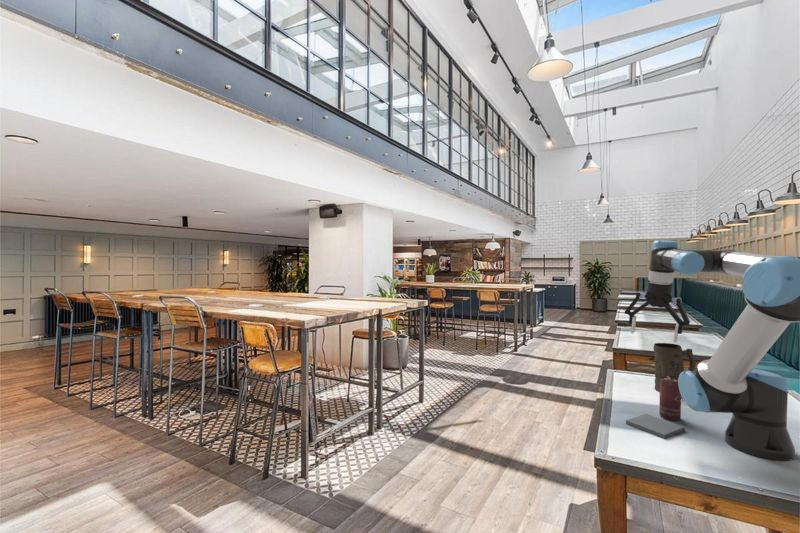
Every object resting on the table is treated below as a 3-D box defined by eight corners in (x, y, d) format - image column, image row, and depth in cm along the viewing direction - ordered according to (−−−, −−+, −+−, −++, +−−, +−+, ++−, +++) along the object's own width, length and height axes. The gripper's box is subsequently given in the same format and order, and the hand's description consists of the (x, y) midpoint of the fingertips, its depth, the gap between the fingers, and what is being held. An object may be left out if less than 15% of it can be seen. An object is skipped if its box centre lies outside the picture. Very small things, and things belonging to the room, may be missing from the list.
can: (673, 414, 135) (673, 375, 135) (684, 421, 129) (685, 381, 129) (655, 413, 136) (655, 375, 136) (666, 420, 130) (666, 380, 130)
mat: (684, 430, 122) (684, 427, 122) (664, 438, 117) (664, 434, 117) (646, 417, 133) (646, 413, 133) (625, 423, 127) (626, 420, 127)
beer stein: (663, 395, 154) (664, 347, 154) (647, 386, 165) (647, 341, 165) (701, 396, 154) (702, 348, 153) (683, 387, 164) (683, 342, 164)
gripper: (704, 285, 131) (696, 342, 135) (624, 275, 148) (619, 326, 152) (702, 289, 126) (693, 348, 130) (619, 279, 143) (613, 331, 147)
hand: (653, 336), depth 141 cm, fingers open, 13 cm apart
